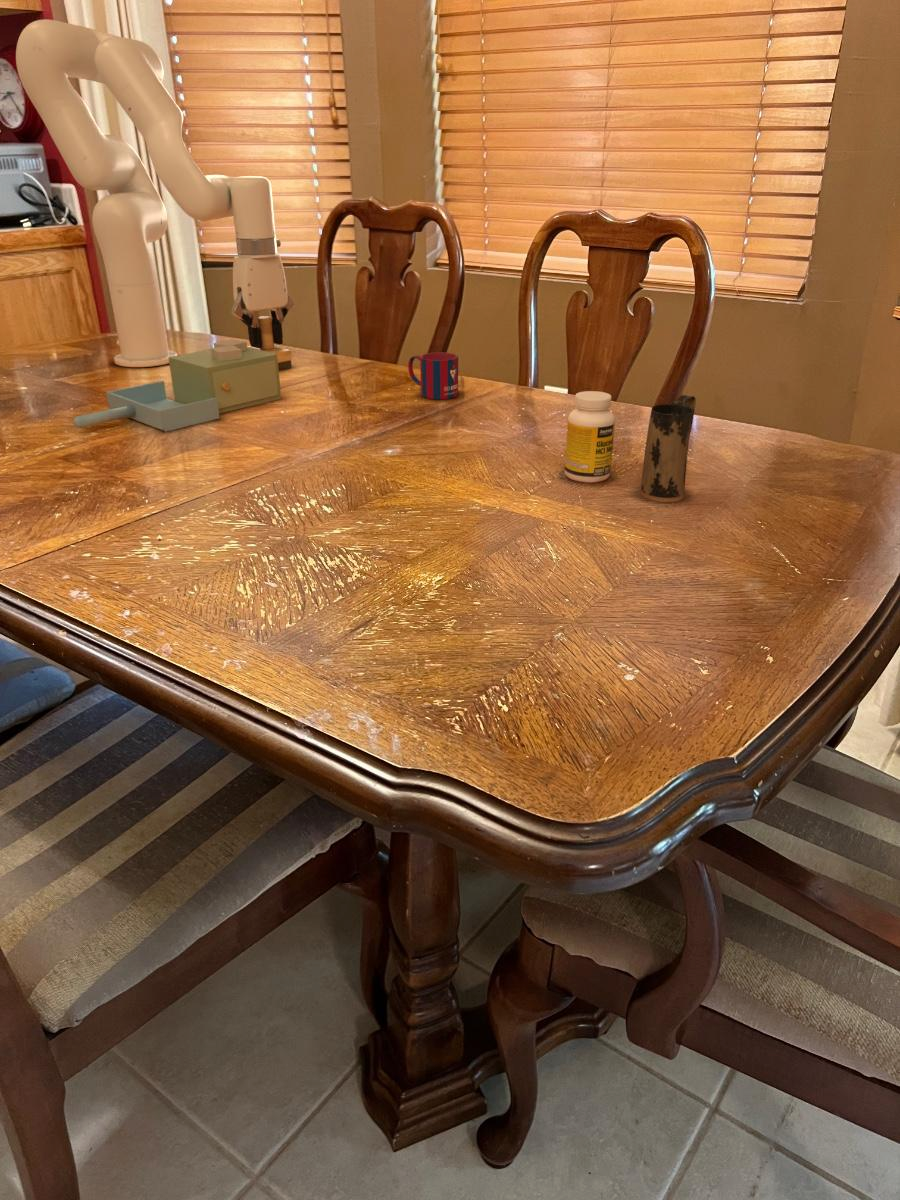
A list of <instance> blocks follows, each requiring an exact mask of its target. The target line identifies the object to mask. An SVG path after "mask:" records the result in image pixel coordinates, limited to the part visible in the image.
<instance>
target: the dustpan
mask: <svg viewBox="0 0 900 1200" xmlns="http://www.w3.org/2000/svg"><path fill="white" fill-rule="evenodd" d="M105 393H106V399H107V404H108V409H104V410H101V411H96V412H92V413H86V414H82V415H77V416H74V418H73V419H72V423H73V425H74V426H75V427H76V428H78V429H83V428H87V427H92V426H97V425H100V424H105V423H110V422H114V421H118V420H122V419H123V420H124V419H128V418H129V419H131V420H134V421H137V422H139V423H142V424H144V425H147V426H149V427H153V429H156V430H160V431H162V432H164V433H165V432H170V431H174V430H178V429H183V428H186V427H190V426H194V425H199V424H203V423H207V422H211V421H215V420H219V419H220V414H219V410H218V403H217V398H212V399H207V400H203V401H198V402H194V403H189V404H182V403H179V402H176V401H175V400H173V399H170V398H168V397H167V392H166V385H165V381H164V380H160V381H155V382H150V383H145V384H140V385H133V386H130V387H125V388H119V389H115V390H110V391H106V392H105Z"/></svg>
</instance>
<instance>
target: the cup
mask: <svg viewBox="0 0 900 1200" xmlns="http://www.w3.org/2000/svg"><path fill="white" fill-rule="evenodd" d="M415 359H417V360H418V361H419V365H420V367H419V369H420V371H419V372H420V379H418V378H417V376H416V374H415V373H414V367H413V364H414V361H415ZM407 367H408V374H409V377H410V378H411V380H412V381H413V382H414V383H415V384H416V385H418V386H419V387H420V395H421V397H423V398H425V399H428V400H448V399H453V398H456V397H457V396H459V355H458V354H455V353H451V352H441V351H439V352H426V353H423V354H421V355H413V356H411V357H410V358H409V360H408V365H407Z"/></svg>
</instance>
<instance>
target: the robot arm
mask: <svg viewBox="0 0 900 1200" xmlns="http://www.w3.org/2000/svg"><path fill="white" fill-rule="evenodd" d="M15 64H16V70H17V74H18V77H19V80H20V82H21V85H22V87H23V89H24V91H25V93H26V95H27V96H28V98H29V100H30V101H31V103H32V106H34V108H35V110H36V112H37V113H38V115H39V117H40V119H41V120H42V122H43V123H44V125H45V127H46V130H47V131H48V133H49V135H50V137H51V139H52V141H53V142H54V144H55V146H56V148H57V150H58V152H59V153H60V155H61V157H62V159H63V161H64V163H65V164H66V166H67V168H68V170H69V172H70V174H71V175H72V177H73V179H74V180H75V181H76V182H77V184H78V185H80V186H81V187H82V188H84V189H86V190H90V191H107V192H108V195H105V196H103V197H102V198H100V199H99V200H98V201H97V203H96V204H95V206H94V208H93V211H92V216H91V218H92V219H91V221H92V229H93V232H94V235H95V238H96V241H97V245H98V247H99V249H100V252H101V256H102V260H103V264H104V269H105V274H106V279H107V284H108V289H109V295H110V301H111V307H112V311H113V319H114V323H115V328H116V334H117V340H116V345H117V346H118V347H119V351H120V353H119V354H116V355H115V356H114V357H113V363H114V364H115V365H116V366H120V367H126V368H150V367H151V368H152V367H158V366H163V365H168V364H169V358H168V357H172V356H177V355H178V353H177V352H176V351H174V350H171V349H169V348H170V347H169V342H168V336H167V330H166V329H167V328H166V323H165V317H164V310H163V303H162V296H161V290H160V284H159V279H158V273H157V267H156V263H155V260H154V258H153V255H152V253H151V250H150V247H149V245H148V244H150V243H154V242H157V241H158V240H160V239H162V237H163V236H164V235H165V234H166V232H167V229H168V225H169V217H168V212H167V208H166V206H165V204H164V202H163V199H162V197H161V195H160V193H159V191H158V190H157V188H156V186H155V184H154V182H153V180H152V178H151V176H150V174H149V172H148V171H147V169H146V167H145V165H144V163H143V161H142V159H141V157H140V156H139V154H138V153H137V151H136V150H135V149H134V148H133V146H132V145H131V144H129V142H127V141H126V140H125V139H124V138H121V137H119V136H116V135H113V134H104V133H103V132H102V130H101V128H100V127H99V125H98V124H97V122H96V120H95V119H94V117H93V115H92V113H91V110H90V107H88V105H87V103H86V102H85V100H84V99H83V97H82V96H81V95H80V94H79V92H77V90H76V89H75V88H74V87H73V85H72V83H71V82H70V80H69V79H70V78H71V79H72V78H73V79H81V80H87V81H91V82H95V83H100V84H103V85H105V86H106V87H107V89H108V90H109V92H110V93H111V94H112V95H113V97H114V98H115V100H116V102H117V103H118V104H119V105H120V107H121V108H122V110H123V111H124V112H125V114H126V116H127V117H128V118H129V119H130V121H131V122H132V123H133V125H134V127H135V128H136V129H137V131H138V132H139V134H140V135H141V136H142V138H143V140H144V142H145V145H146V149H147V153H148V155H149V158H150V160H151V163H152V166H153V169H154V170H155V173H156V175H157V177H158V179H159V180H160V182H161V183H162V185H163V186H164V188H165V189H166V190H167V192H168V194H170V196H171V197H172V199H173V200H174V201H175V203H176V204H177V205H178V207H179V208H180V209H181V210H182V211H183V212H184V213H185V214H186V215H187V216H189V218H192V219H193V220H196V221H199V222H207V221H213V220H219V219H224V218H231V217H232V218H233V224H234V233H235V234H234V235H235V243H236V252H237V255H236V256H234V257H233V263H232V295H233V305H232V308H231V309H230V314H231V315H232V316H234V317H236V318H238V320H240V321H241V322H242V323H243V324H244V326H245V327H247V333H248V334H247V335H248V341H249V345H251V347H255V348H262V338H261V329H260V327H258V317H259V312H263V311H268V313H269V316H270V317H271V321H272V331H273V341H274V344H276V345H283V344H284V341H283V339H284V336H283V325H282V324H284V323H285V318H286V316H287V315H288V312H289V311H290V310H291V309H292V308H293V307H294V305H295V304H294V301H293V300H292V298H291V297H290V295H289V294H288V287H287V279H286V274H285V269H284V265H283V261H282V258H281V255H280V254H279V253H278V248H280V247H281V246H282V242H281V240H280V239H277V235H276V222H275V212H274V201H273V190H272V184H271V182H270V180H269V179H268V178H267V177H265V176H259V175H257V176H255V175H247V176H246V175H243V176H229V175H223V174H204V173H203V172H202V169H200V167H199V165H198V164H197V163H196V161H195V160H194V159H193V157H192V155H191V154H190V152H189V150H188V148H187V146H186V144H185V142H184V139H183V132H182V128H183V122H184V113H183V111H182V110H181V108H180V107H179V105H178V104H177V103H176V101H175V100H174V98H173V97H172V96H171V94H170V93H169V91H168V90H167V89H166V87H165V85H164V84H163V80H164V76H165V75H164V73H165V72H164V67H163V63H162V61H161V58H160V56H159V55H158V53H157V52H156V50H154V49H153V47H151V45H149V44H147V43H146V42H144V41H141V40H137V39H133V38H129V37H123V36H118V35H115V34H112V33H108V32H104V31H100V30H97V29H93V28H90V27H86V26H82V25H76V24H74V23H68V22H64V21H60V20H56V19H46V18H45V19H38V20H34V21H31V22H30V23H28V24H27V25H26V26H25V27H24V28H23V29H22V31H21V33H20V35H19V37H18V40H17V43H16V49H15ZM243 310H244V312H243Z"/></svg>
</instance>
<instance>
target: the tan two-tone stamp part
mask: <svg viewBox="0 0 900 1200" xmlns="http://www.w3.org/2000/svg"><path fill="white" fill-rule="evenodd" d="M257 327H260V329H261V338H262V348H255V347H251V345H250V344H249V345H248V344H247V347H249V348H253V349H257V350H261V351H265V352H269V353H273V354H277V359H278V369H279V371H284V370H287V369H291V368H292V356H291V349H287V348H284V347H283V348H282V347H277V346H275V343H274V341H273V331H272V320H271V317H270V315H260V316H258V325H257Z"/></svg>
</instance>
